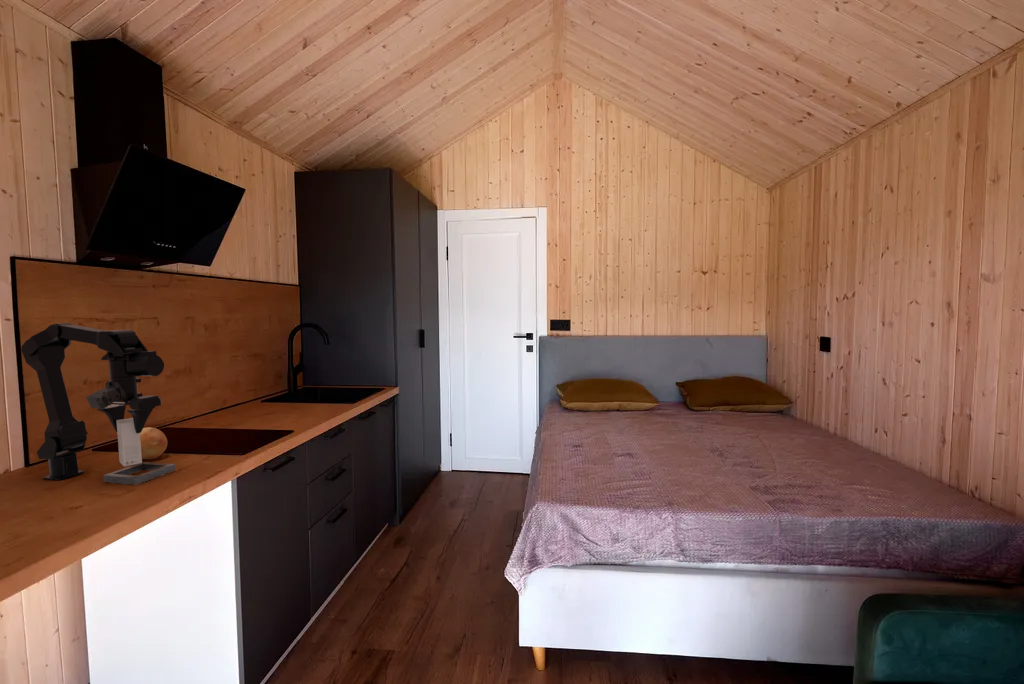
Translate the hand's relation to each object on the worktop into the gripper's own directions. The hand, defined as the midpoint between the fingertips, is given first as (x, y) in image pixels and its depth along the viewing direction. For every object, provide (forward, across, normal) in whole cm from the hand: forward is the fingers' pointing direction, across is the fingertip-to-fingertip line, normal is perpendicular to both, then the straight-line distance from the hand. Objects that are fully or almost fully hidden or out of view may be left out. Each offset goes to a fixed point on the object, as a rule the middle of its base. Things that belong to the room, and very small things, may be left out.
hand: (128, 432), depth 135 cm
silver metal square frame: (+13, 0, +2) cm, 13 cm away
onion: (+13, -13, +14) cm, 23 cm away
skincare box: (+9, 0, 0) cm, 9 cm away
